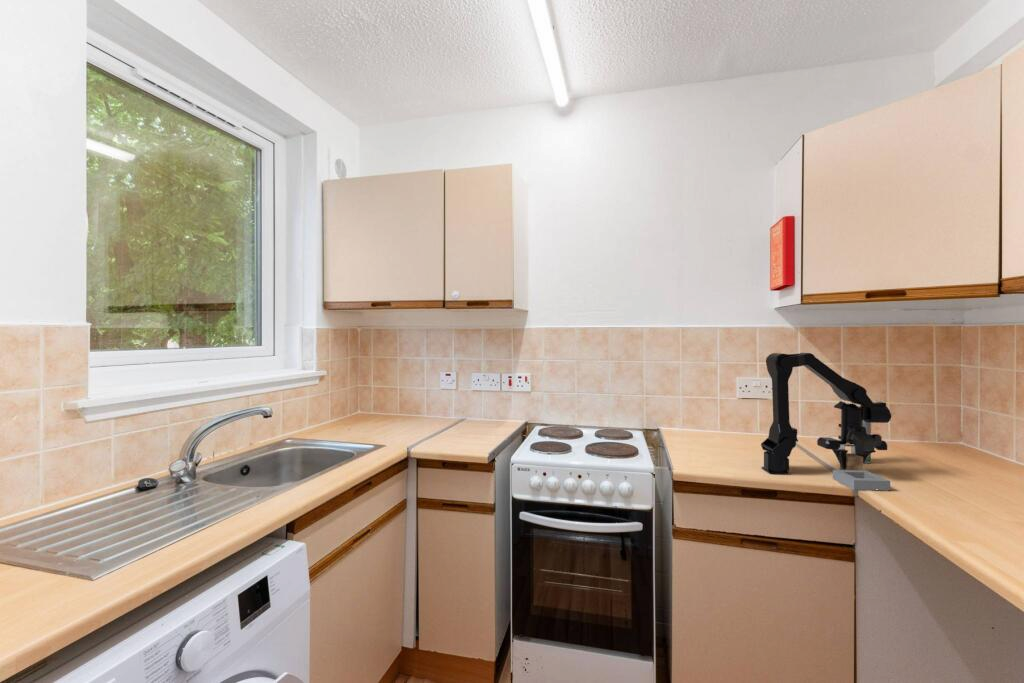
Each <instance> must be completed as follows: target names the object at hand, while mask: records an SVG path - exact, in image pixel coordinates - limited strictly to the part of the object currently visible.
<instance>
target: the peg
mask: <svg viewBox="0 0 1024 683" xmlns="http://www.w3.org/2000/svg"><path fill="white" fill-rule="evenodd" d="M839 470H844V469H842V467H841V465H840V464H839ZM845 470H864V464H863V457H862V456H859V455H857V454H854V453H851V452H850V453H849V452H847V454H846V469H845Z"/></svg>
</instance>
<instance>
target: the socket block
mask: <svg viewBox="0 0 1024 683" xmlns="http://www.w3.org/2000/svg"><path fill="white" fill-rule="evenodd" d="M833 479H834V480H833ZM832 480H833V481H835V480H836V482H837V481H838V482H837V483H839V484H841V485H843V486H845V487H847V488H849V489H851V490H852V491H863V492H864V491H866V492H867V490H876V489H878V490H890V491H891V480H889V479H886V478H884V477H881V476H880V475H877V474H875V473H873V472H870V471H869V470H865V469H863V470H840V469H832Z"/></svg>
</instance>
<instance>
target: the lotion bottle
mask: <svg viewBox="0 0 1024 683" xmlns="http://www.w3.org/2000/svg"><path fill="white" fill-rule="evenodd" d="M859 406H860V407H861V405H859ZM863 427H866V433H867V434H871V435H872V423H867V422H865V421H864V420H863ZM850 453H854V454H855V446H850ZM871 462H872V453H871V454H869V455H868V457H867V458H866V460H865V462H864V464H863V465H865V464H866V465H867V464H871Z"/></svg>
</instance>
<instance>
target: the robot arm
mask: <svg viewBox="0 0 1024 683" xmlns="http://www.w3.org/2000/svg"><path fill="white" fill-rule="evenodd" d="M765 364H766V369H767V373H768V374H769V377H770V378H771V392H772V393H771V394H772V395H771V396H772V419H773V420H772V423H771V426H770V428H769V430H768V436H767V438H766V439H765V440H763V441H762V442H761V443H760V446H761V449H762V451H763V466H761V469H762V470H764V471H765V472H767V473H769V474H770V475H771V474H772V475H791V472H790V459H789V457H790V456H791V453H792V450H793V449H794V448H796V446H797V443H798V442H799V440H798V429H797V428H795V427H793V426H792V425H791V422H790V400H789V399H790V396H789V394H790V393H789V380H790V378H791V375H793V374H792V373H793V368H797V367H799V368H800V367H805V368H806V369H807V370H809V371H810V372H812V373H813V374H814V375H815V376H817V377H818V378H820V379H821V380H822V381H823V382H824V383H826V384H827V385H829V387H831V389H832V392H834V394H835V395H836V396H837V397H838V399H839V398H840V399H841V400H842V401H839V402H838V403H836V404H834V406H833V407H834V408H835V409H837V410H840V423H838V428H840V435H838V439H835V438H833V437H831V436H829V437H827V436H826V437H824V436H820V437H818V439H817V441H816V444H817V446H819V447H821V448H824V449H825V450H832V451H833V453H834V455H835V457H836V458H837V461H838V463H839V466H840V465H841V467H842V469H844V470H845V469H846V454H847V453H849V450H847V449H846V447H851V446H855V454H857V455H859V456H862V457H863V465H865V464H864V462H865V460H866V458H867V457H868V455H869V454H871V455H872V453H876V452H877V451H888V443H887V442H886V440H883V439H882V435H880V434H878V433H871V434H867V433H866V427H863V420H864V421H865V422H867V423H871V424H875V423H876V424H879V423H880V424H886V423H889V422H890V421H891V419H892V413H891V410H890V409H889V408H888V406H887V403H886V402H883V401H876V402H875V401H874V402H873V400H872V399H871V398H870V397H869V396H868V394H867V389H866V388H865V387H863V386H862V385H861V384H858V383H856V382H853V381H851V380H848V379H847V378H844V377H842V376H841V374H839V373H837V372H836V371H834V369H832V368H831V367H829V366H828V365H826V364H825V363H824V362H823V361H821V360H820V359H819V358H817V357H816V356H815V355H814V353H811V352H800V353H791V354H789V353H781V352H779V353H778V352H773V353H770V354H768V356H766V359H765ZM845 401H846V402H850V403H846V402H845ZM860 406H861V407H860ZM876 450H877V451H876Z"/></svg>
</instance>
